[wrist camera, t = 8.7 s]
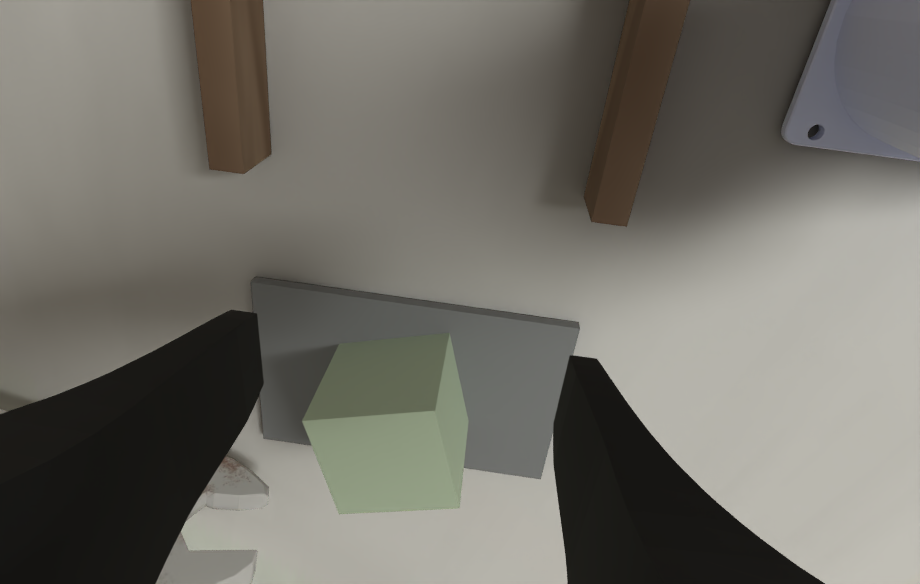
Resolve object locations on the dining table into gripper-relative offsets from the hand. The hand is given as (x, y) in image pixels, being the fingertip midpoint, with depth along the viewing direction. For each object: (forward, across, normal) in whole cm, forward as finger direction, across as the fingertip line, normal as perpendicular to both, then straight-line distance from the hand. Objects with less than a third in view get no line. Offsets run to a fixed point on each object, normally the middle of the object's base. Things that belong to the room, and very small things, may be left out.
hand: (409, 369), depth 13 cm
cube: (+10, +1, +8) cm, 13 cm away
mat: (+10, +1, +9) cm, 14 cm away
